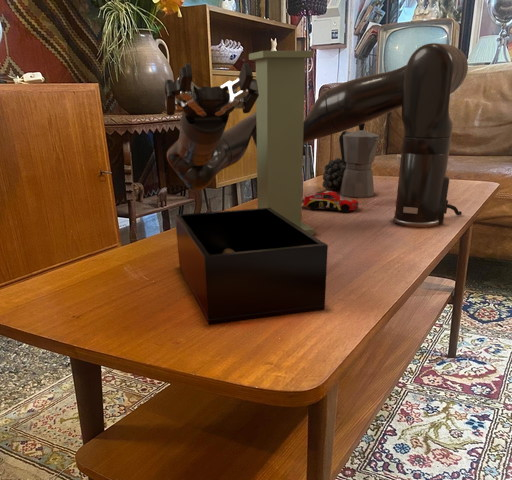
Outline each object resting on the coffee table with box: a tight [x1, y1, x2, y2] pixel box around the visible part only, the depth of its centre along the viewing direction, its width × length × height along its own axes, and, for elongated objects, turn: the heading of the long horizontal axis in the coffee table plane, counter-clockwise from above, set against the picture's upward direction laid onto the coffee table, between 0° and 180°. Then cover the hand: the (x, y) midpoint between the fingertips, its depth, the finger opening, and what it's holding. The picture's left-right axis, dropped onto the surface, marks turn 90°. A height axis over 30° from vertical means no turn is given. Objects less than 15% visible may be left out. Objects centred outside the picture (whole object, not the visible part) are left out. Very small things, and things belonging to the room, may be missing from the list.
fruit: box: [321, 157, 346, 192], centre depth 144 cm, size 9×8×15 cm
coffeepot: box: [338, 123, 381, 199], centre depth 137 cm, size 15×9×18 cm, turn 28°
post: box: [248, 50, 315, 236], centre depth 99 cm, size 11×11×32 cm
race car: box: [303, 190, 360, 214], centre depth 123 cm, size 13×5×4 cm, turn 64°
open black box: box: [174, 208, 329, 326], centre depth 74 cm, size 24×16×9 cm, turn 16°
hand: (218, 69), depth 74 cm, fingers open, 8 cm apart
